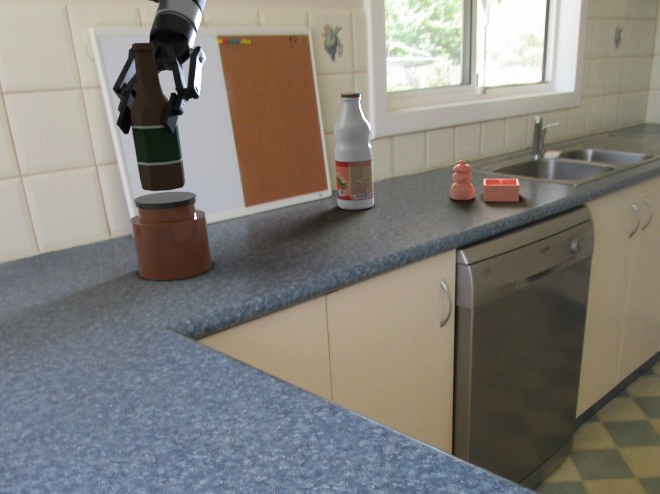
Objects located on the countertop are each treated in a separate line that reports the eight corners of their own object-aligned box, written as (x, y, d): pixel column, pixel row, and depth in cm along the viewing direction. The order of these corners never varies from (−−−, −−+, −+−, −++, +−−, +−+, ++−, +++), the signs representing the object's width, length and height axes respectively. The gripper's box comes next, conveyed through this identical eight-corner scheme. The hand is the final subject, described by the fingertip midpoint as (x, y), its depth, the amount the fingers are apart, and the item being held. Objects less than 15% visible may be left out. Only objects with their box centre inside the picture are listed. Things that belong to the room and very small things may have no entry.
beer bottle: (192, 187, 117) (172, 42, 109) (147, 193, 113) (123, 42, 105) (179, 181, 123) (159, 43, 115) (136, 186, 119) (112, 43, 111)
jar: (138, 264, 127) (126, 194, 122) (207, 255, 131) (199, 187, 127) (139, 284, 116) (126, 208, 111) (216, 274, 120) (206, 200, 115)
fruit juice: (369, 210, 166) (364, 93, 156) (333, 209, 167) (326, 94, 158) (378, 202, 174) (373, 91, 164) (343, 202, 176) (337, 91, 166)
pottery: (517, 194, 180) (518, 157, 177) (518, 201, 172) (520, 163, 168) (450, 194, 183) (451, 158, 179) (449, 201, 174) (449, 163, 170)
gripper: (235, 42, 122) (211, 142, 113) (133, 45, 125) (100, 143, 116) (221, 9, 116) (193, 113, 106) (113, 13, 119) (76, 114, 109)
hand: (145, 128), depth 111 cm, fingers closed on beer bottle, 7 cm apart
